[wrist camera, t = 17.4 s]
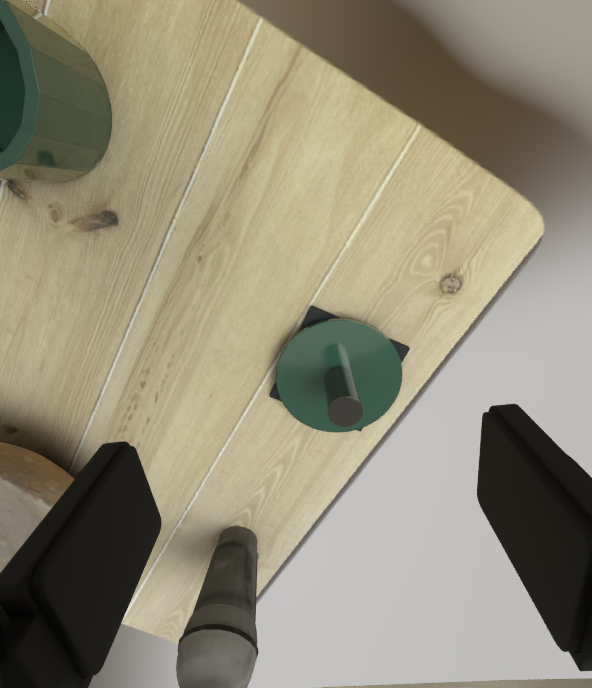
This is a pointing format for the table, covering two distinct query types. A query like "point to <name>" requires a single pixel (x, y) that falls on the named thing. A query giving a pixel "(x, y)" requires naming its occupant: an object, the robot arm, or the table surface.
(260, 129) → the table surface
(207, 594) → the beverage cup
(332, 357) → the lid
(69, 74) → the pot
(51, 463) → the bowl
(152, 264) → the table surface
